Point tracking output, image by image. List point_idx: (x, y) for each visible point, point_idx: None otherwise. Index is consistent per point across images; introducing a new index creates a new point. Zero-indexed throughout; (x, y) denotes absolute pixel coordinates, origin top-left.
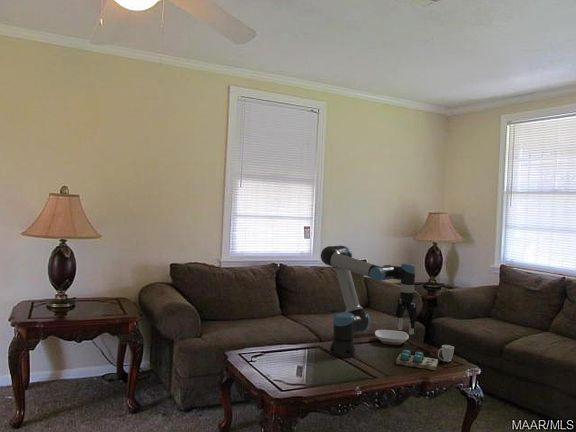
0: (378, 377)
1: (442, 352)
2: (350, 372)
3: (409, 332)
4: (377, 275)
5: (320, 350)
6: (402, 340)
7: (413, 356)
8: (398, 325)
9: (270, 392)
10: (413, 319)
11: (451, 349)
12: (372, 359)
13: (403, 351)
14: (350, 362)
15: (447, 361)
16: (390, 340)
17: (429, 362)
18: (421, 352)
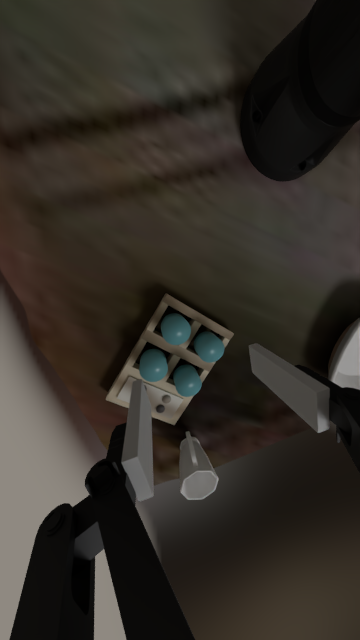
0: (5, 158)
1: (201, 452)
2: (57, 44)
3: (135, 388)
4: None
5: None
6: (329, 377)
7: (203, 365)
8: (270, 356)
9: None
10: (35, 562)
11: (180, 487)
12: (215, 226)
13: (208, 338)
14: (187, 112)
15: (181, 442)
16: (343, 342)
17: None
18: (194, 394)
